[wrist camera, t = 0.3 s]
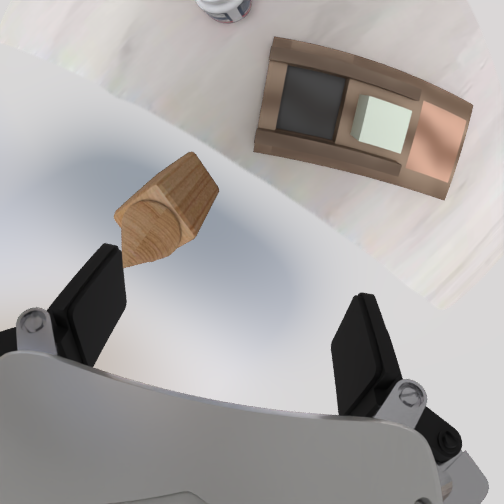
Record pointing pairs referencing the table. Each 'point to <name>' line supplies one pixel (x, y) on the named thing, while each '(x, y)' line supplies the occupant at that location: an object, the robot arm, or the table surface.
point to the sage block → (380, 123)
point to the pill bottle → (225, 9)
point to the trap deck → (343, 112)
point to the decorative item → (166, 211)
